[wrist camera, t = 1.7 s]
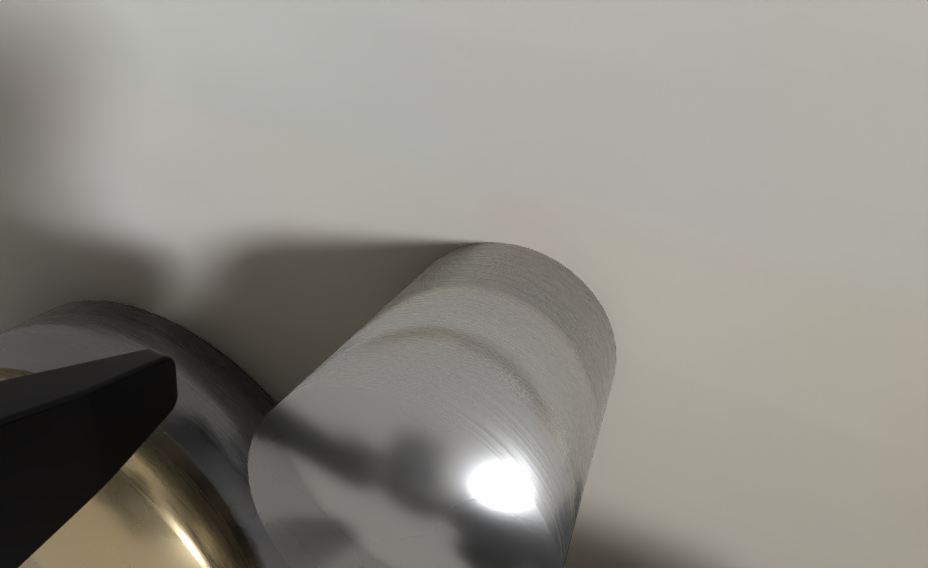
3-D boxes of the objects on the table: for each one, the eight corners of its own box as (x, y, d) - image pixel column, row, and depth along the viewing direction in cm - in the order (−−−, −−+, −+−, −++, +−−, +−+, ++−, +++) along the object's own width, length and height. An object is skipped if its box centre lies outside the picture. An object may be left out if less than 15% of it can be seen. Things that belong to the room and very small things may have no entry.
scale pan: (277, 483, 12) (244, 519, 11) (267, 749, 17) (245, 786, 17) (-101, 305, 15) (-150, 323, 14) (-9, 582, 20) (-41, 608, 19)
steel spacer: (648, 286, 10) (604, 480, 6) (580, 467, 12) (512, 705, 8) (421, 213, 11) (247, 335, 7) (393, 391, 13) (247, 567, 9)
